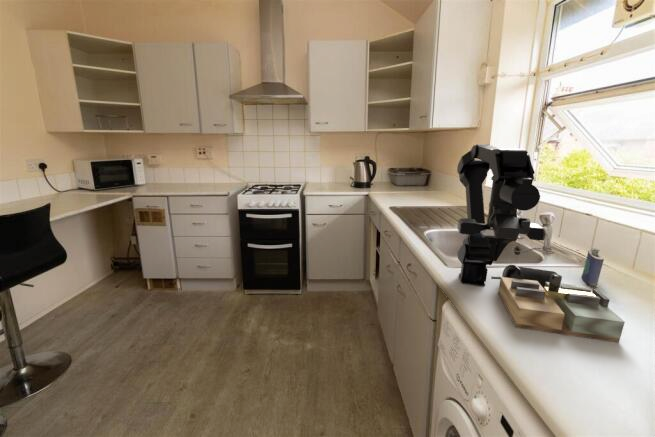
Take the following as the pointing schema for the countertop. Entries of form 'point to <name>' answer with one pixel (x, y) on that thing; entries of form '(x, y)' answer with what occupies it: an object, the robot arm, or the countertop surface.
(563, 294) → the bolt
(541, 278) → the drinking cup
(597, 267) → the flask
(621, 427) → the countertop surface
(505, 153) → the robot arm
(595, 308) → the frame
